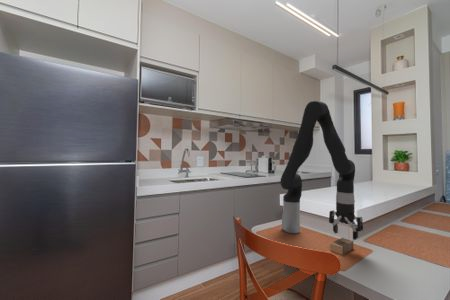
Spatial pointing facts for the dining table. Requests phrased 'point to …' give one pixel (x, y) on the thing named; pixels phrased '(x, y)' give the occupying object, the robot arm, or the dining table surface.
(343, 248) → the brown cardboard box
